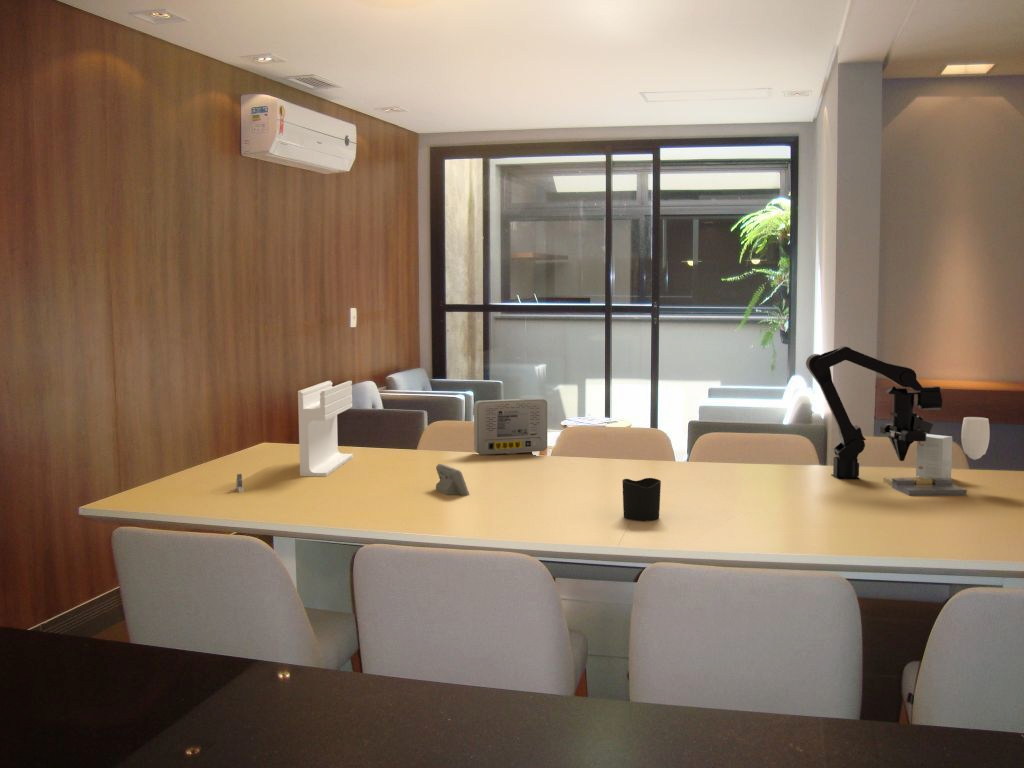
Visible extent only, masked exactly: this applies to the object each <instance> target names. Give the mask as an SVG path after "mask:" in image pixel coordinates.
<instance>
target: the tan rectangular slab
mask: <svg viewBox="0 0 1024 768" xmlns="http://www.w3.org/2000/svg"><path fill="white" fill-rule="evenodd" d="M892 478H893V477H883V478H882V479H883V483H885V484H886V483H887V485H889V486H890V487H892ZM907 478H910V479H912V480H914V485H916V484H932V480H931V479H930V478H931V477H916V476H915V477H912V476H911V477H907Z"/></svg>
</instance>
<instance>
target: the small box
mask: <svg viewBox="0 0 1024 768" xmlns="http://www.w3.org/2000/svg"><path fill="white" fill-rule="evenodd" d="M925 434H926V441H916V458H915V459H916V460H915V461H916V462H915V466H916V467H915V469H916V470H915V477H916V476H919V477H931V478H950V479H952V467H953V466H952V465H953V464H952V463H953V461H952V460H953V455H952V454H953V436H951V435H949V436H948V435H941V434H931V433H930V434H928V433H925Z"/></svg>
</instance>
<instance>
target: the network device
mask: <svg viewBox="0 0 1024 768" xmlns="http://www.w3.org/2000/svg"><path fill="white" fill-rule="evenodd" d="M547 448H548V401H547V400H546V399H543V398H541V397H539V398H537V397H536V398H513V399H512V398H511V399H509V398H508V399H492V400H491V399H490V400H488V399H487V400H477V401H475V402H474V403H473V450H474V452H475V453H477V454H479V455H480V456H481V455H484V456H485V455H499V454H506V455H516V454H517V453H528V452H529V453H531V452H532V453H533V452H534V453H535V452H545V451H546V450H547Z"/></svg>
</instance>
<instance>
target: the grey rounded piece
mask: <svg viewBox="0 0 1024 768" xmlns="http://www.w3.org/2000/svg"><path fill="white" fill-rule="evenodd" d="M989 420H990V419H989V418H986V417H982V416H981V417H980V416H966V417H963V420H962V425H961V434H960V438H961V439H960V440H961V446H962V450H963V453H964V454H966V456H967V457H968V458H969V459H971V460H978V459H981V458H982V456H983V455H984V456H985V455H986V453H987V450H988V448H989V443H990V438H991V437H990V434H991V433H990V432H991V431H990V422H989Z"/></svg>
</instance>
